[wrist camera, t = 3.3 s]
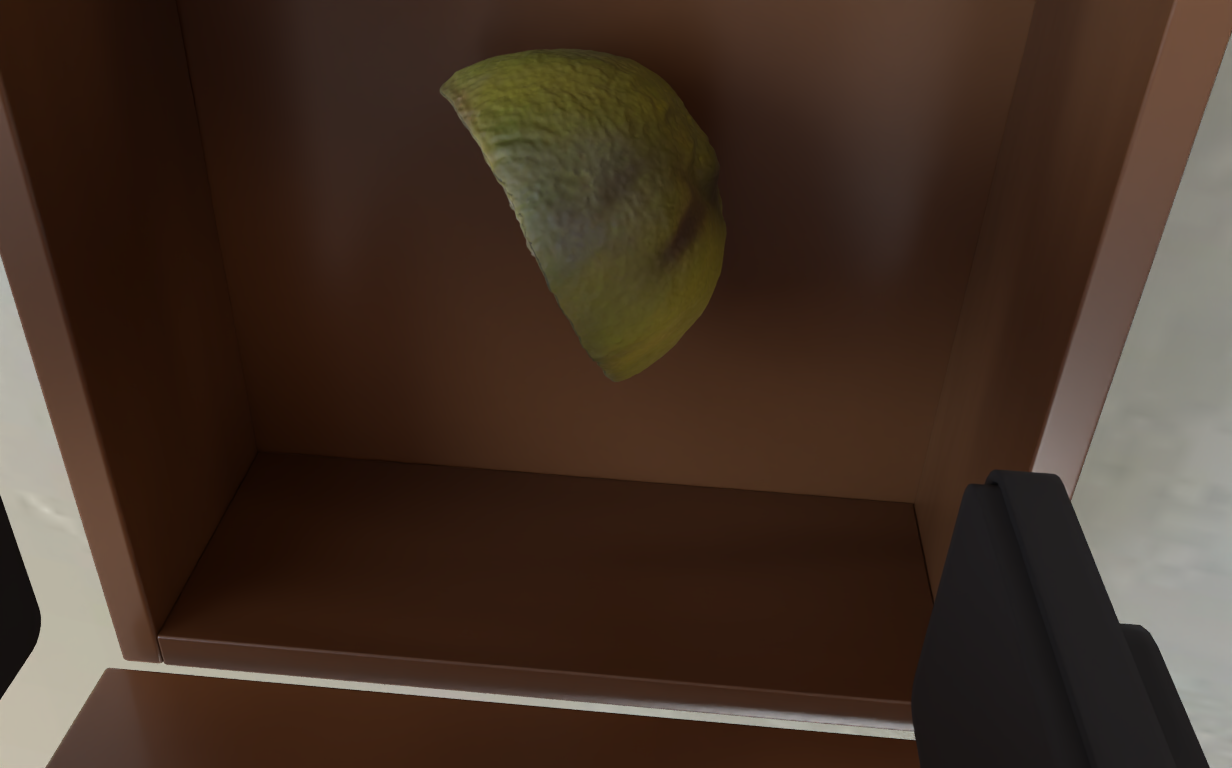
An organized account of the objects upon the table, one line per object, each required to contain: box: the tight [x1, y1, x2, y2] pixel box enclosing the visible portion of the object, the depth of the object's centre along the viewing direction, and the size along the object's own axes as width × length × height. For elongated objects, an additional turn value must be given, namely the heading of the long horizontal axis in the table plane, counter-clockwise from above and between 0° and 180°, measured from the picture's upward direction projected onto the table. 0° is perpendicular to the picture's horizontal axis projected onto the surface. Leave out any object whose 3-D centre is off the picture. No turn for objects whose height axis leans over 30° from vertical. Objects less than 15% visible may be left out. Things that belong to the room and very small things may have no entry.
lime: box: [440, 49, 727, 382], centre depth 17 cm, size 4×5×5 cm
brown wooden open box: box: [0, 0, 1232, 731], centre depth 17 cm, size 15×14×6 cm
